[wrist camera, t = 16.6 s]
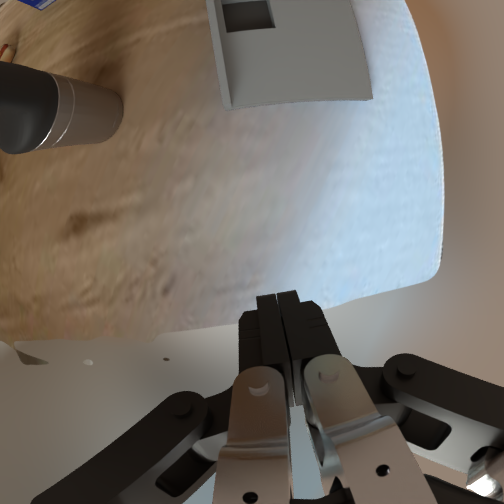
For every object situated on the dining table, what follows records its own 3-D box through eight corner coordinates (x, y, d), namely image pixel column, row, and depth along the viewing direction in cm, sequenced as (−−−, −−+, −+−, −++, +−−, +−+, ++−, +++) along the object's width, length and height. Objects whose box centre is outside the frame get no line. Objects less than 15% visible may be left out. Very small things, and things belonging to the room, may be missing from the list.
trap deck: (225, 110, 35) (222, 104, 29) (199, -46, 22) (195, -66, 16) (366, 100, 35) (385, 95, 29) (322, -50, 22) (331, -68, 16)
